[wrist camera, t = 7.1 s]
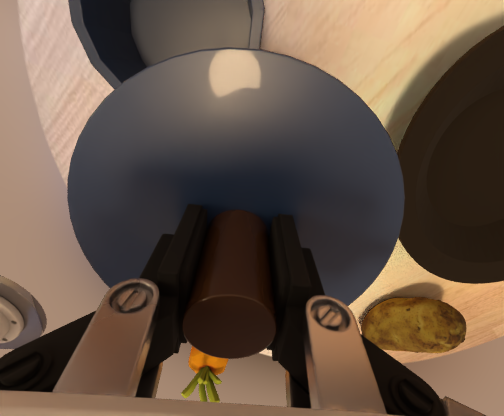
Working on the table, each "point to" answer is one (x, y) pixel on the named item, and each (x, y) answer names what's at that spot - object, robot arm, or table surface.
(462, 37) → the table surface
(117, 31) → the pot
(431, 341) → the potato
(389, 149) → the lid
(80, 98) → the table surface
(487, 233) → the plate
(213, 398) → the carrot
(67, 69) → the table surface
